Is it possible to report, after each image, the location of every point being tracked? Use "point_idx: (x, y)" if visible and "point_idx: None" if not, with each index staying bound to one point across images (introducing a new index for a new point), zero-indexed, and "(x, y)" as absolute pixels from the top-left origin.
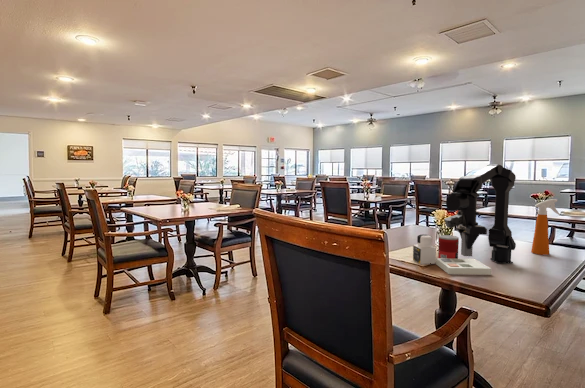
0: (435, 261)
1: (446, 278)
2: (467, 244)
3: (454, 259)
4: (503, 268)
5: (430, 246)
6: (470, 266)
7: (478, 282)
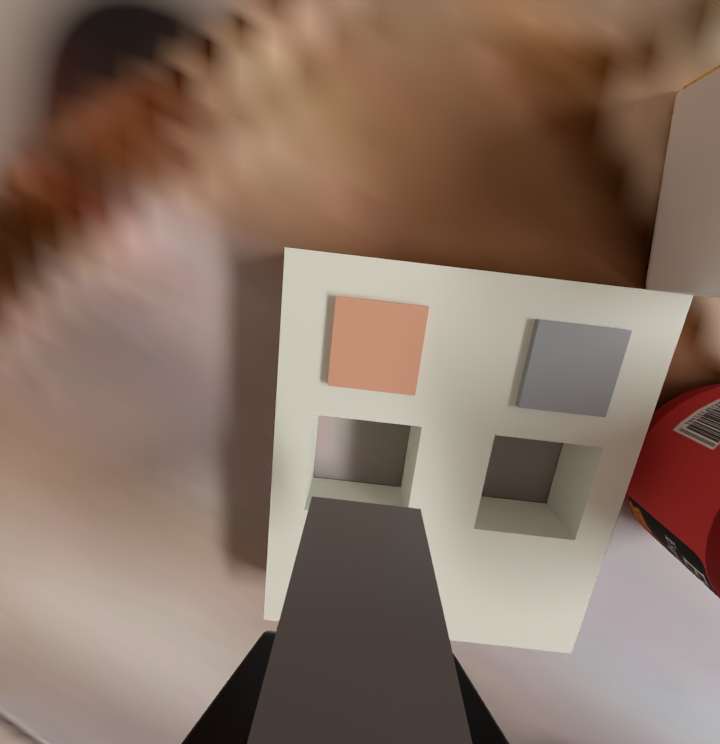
0: (663, 288)
1: (176, 163)
2: (198, 723)
3: (593, 477)
4: None
5: None
6: None
7: (93, 392)
